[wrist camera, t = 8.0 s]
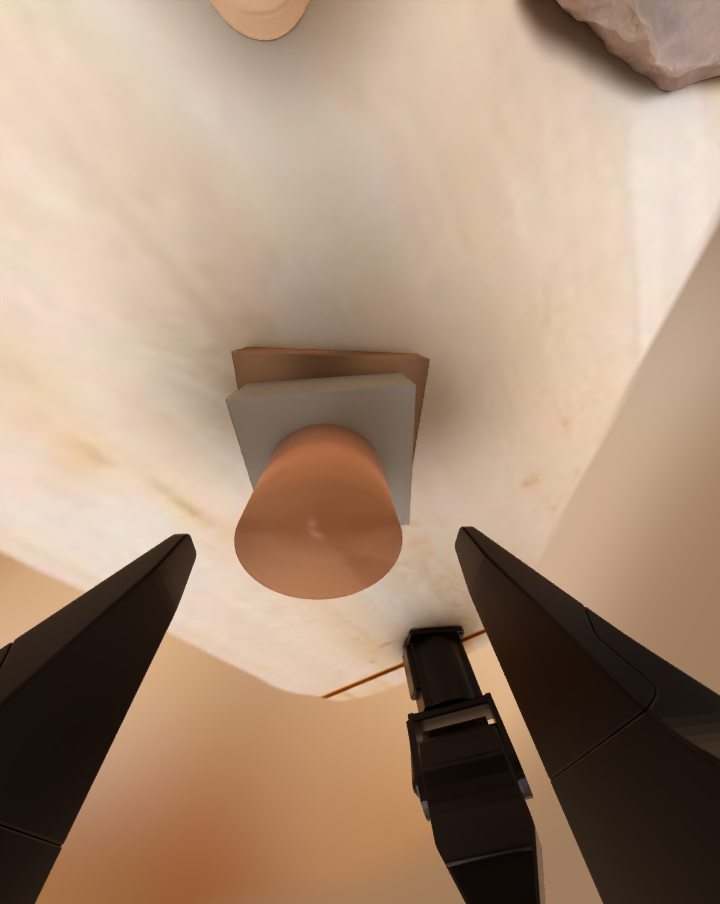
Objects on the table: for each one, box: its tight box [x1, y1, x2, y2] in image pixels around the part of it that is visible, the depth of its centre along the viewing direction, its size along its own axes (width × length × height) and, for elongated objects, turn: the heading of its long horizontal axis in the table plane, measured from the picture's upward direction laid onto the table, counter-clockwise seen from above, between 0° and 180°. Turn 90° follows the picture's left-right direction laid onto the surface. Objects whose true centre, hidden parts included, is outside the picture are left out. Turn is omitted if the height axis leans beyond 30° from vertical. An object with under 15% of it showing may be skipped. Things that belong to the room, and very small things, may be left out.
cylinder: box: [234, 424, 402, 600], centre depth 11 cm, size 6×6×4 cm
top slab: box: [225, 372, 416, 525], centre depth 14 cm, size 8×8×3 cm
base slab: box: [232, 347, 430, 464], centre depth 16 cm, size 10×10×3 cm
